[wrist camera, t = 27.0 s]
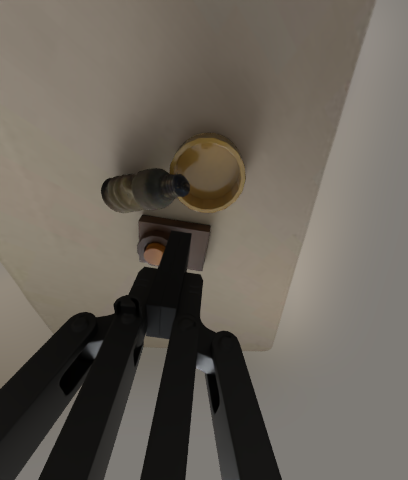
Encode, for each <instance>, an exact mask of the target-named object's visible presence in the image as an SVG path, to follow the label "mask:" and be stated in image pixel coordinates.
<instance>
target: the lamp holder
mask: <svg viewBox="0 0 408 480" xmlns="http://www.w3.org/2000/svg"><path fill="white" fill-rule="evenodd" d="M170 174H172V175H175V174H182V175H183V176H184V177H185V178H186V179H187V180H188V182H189V184H190V192H189V193H188V195H187V196H185V197H178V199H179V201H180V202H181V203H183V204H184V205H185V206H187V207H188V208H190V209H192V210H195V211H198V212H202V213H213V212H217V211H220V210H223V209H226V208H227V207H228V206H230V205H231V204H233V203H234V202H235V201H236V200H237V198H238V197H239V195H240V194H241V193H242V191H243V187H244V183H245V180H246V176H245V166H244V163H243V160H242V157H241V155H240V153H239V151H238V149H237V147H236V146H235V145H234V144H233V143H232V142H231V141H230V140H229V139H227V138H226V137H224V136H222V135H219V134H216V133H201V134H197V135H195V136H193V137H191V138H189V139H188V140H187V141H186V142H184V143H183V145H182V146H181V147H180V148H179V149H178V151H177V152H176V154H175V156H174V158H173V160H172V163H171V165H170Z"/></svg>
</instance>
